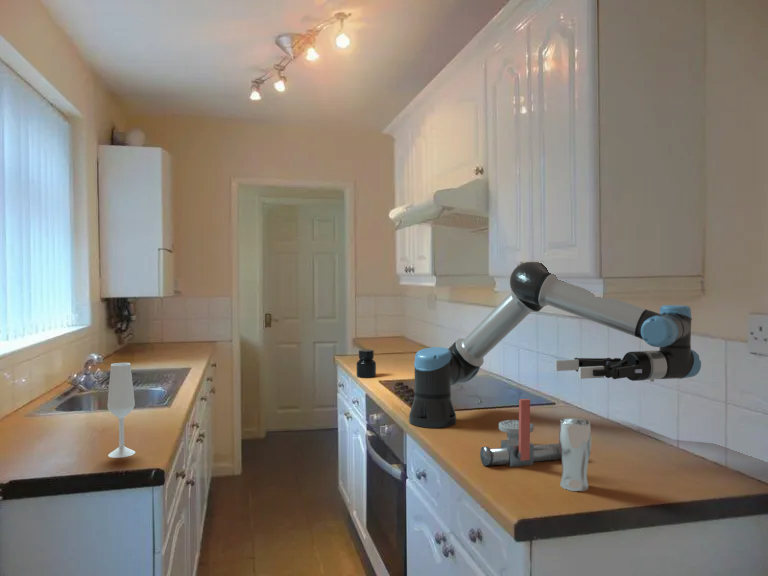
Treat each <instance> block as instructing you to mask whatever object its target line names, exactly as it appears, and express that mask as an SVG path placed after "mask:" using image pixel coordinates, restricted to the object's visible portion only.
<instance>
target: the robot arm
mask: <svg viewBox="0 0 768 576" xmlns="http://www.w3.org/2000/svg"><path fill="white" fill-rule="evenodd" d="M539 262H540V261H526V262H522V263H520V264H518V266H516V267H515V268H514V269H513V270H512V272H511V274H510V279H509V286H510V293H509V294H508V295H506V297H505V298H504V299H503V300H501V302H500V303H499V304H498V305H497V306H496V307H495V308H494V309H493V310H491V312H490V313H489V314H488V315H487V316H486V317H485V318H484V319H483V320H482V321H481V322H480V323H479V324H478V325H477V326H476V327H475V328H474V329H473V330H472V331H470V333H469V334H468V335H467V336H466V337H465V338H462V337H461V338H457V340H456V341H455V342H453V344H451V345H450V346H449V348H447V347H441V346H438V347H437V346H435V347H427V348H422V349H420V350H418V351H417V352H416V353H415V356H414V363H413V366H414V398H413V402H412V405H411V408H410V411H409V414H408V422H409V423H410V424H411V425H413V426H417V427H421V428H428V429H429V428H430V429H431V428H435V429H439V428H440V429H441V428H446V427H447V428H448V427H451V426H454V425H455V424H456V423H457V414H456V412H455V411H456V410H455V408H454V404H453V401H452V395H451V394H452V393H451V392H452V385H458V384H461V383H466V382H469V381H470V380H472V379H473V378H474V377H476V376H477V374H478V373H479V371H480V368H481V366H483V364H484V360H485V359H484V357H485V356H486V355H488V353H490V352H491V351H492V350H493V349H494V348H495V347H496V346H497V345H498V344H499V343H500V342H501V341H502V340H503V339H504V338H505V337H507V335H508V334H509V333H510V332H511V331H513V330H514V329H515V328H516V327H517V326H518V325H519V324H520V323H521V322H522V321H523V320H524V319H525V318H526V317H527V316H528V315H530V314H531V313H538V312H540V311H541V310H542V309H543V308H544V307H546V306H551V307H553V308H556V309H558V310H561V311H563V312H566V313H569V314H573V315H575V316H578V317H581V318H582V319H586V320H588V321H590V322H591V321H592V322H594V323H597V324H600V325H602V326H605V327H608V328H611V329H613V330H616V331H619V332H620V333H621V332H622V333H624V334H627V335H631V336H633V337H635V338H637V339H640V340H643V341H644V342H645V343H646V344H648V345H649V346H651V347H655V348H658V349H659V350H642V351H628V352H626V353H624V355H623V357H622V358H621V357H614V358H611V357H602V358H596V357H594V358H593V357H592V358H591V357H588V358H587V357H579V358H578V357H574V358H573V359H561V360H560V359H559V360H558V359H557V360H555V361H554V372H564V371H565V372H566V371H567V372H568V371H575V372H577V373H578V379H580V380H582V379H601V378H604V379H605V378H606V379H610V378H611V380H612V379H613V380H619V379H624V378H625V379H628V380H629V381H633V382H635V381H636V382H637V381H649V380H650V382H655V380H668V379H669V380H671V379H673V380H675V379H678V380H679V379H680V380H681V379H687V378H693V377H695V376H697V375H698V374H699V373H700V371H701V368H702V360H701V359H700V355H699V354H698V353H697V352H696V351H695V350H694V349H692V344H691V343H692V342H691V341H692V339H691V338H692V337H691V336H692V321H693V318H692V308H691V307H690V306H688V305H683V304H665V305H664V304H663V305H661V306H660V308H659V312H656V311H653V310H650V309H646V308H643V307H641V306H638V305H634V304H632V303H629V302H626V301H624V300H623V301H622V300H620V299H617V298H613V297H611V298H601V297H595V295H594V294H593V293H591V292H590V291H591V290H590V291H588V290H589V289H587V290H586V288H584V287H582V286H578V285H575V284H573V283H569V282H564V281H561V280H558V279H557V277H556V275H554V274H551V273H549V272H548V270H547V268H546V267H545V266H544V265H543V264H542V263H539Z"/></svg>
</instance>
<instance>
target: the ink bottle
mask: <svg viewBox="0 0 768 576" xmlns="http://www.w3.org/2000/svg"><path fill="white" fill-rule="evenodd" d="M374 353H375V352H374V349H358V360H357V361H356V377H358V378H360V379H361V378H362V379H363V378H364V379H368V378H370V379H371V378H375V377H376V376H377V362H376V360H374V355H375V354H374Z"/></svg>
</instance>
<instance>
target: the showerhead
mask: <svg viewBox="0 0 768 576" xmlns="http://www.w3.org/2000/svg"><path fill="white" fill-rule="evenodd" d="M534 426H535V425H534V423H531V422H530V434H532V433H533V432H534ZM498 429H499V431H501V432H503V433H506V440H513V439H519V419H505V420H502V421H499V422H498Z"/></svg>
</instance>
